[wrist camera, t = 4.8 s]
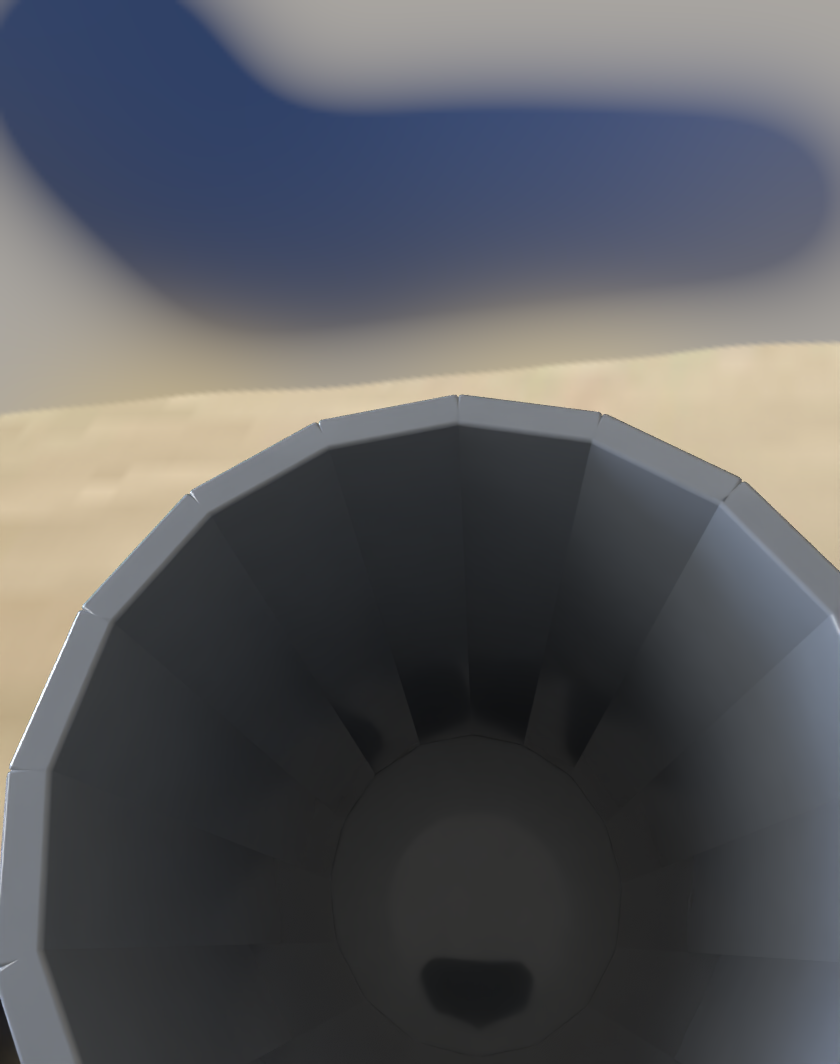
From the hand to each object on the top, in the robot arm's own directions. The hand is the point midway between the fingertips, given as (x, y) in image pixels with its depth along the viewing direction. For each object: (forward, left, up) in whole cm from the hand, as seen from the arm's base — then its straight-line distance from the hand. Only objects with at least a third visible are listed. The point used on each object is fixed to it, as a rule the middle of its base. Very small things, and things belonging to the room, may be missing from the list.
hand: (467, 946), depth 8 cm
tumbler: (+1, -1, -9) cm, 9 cm away
